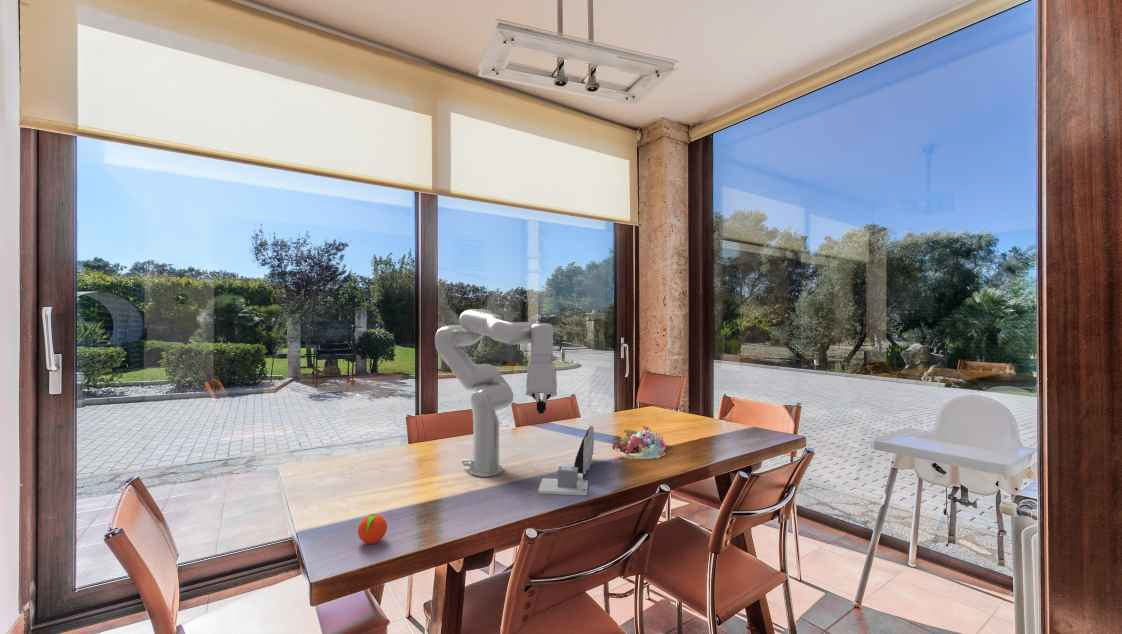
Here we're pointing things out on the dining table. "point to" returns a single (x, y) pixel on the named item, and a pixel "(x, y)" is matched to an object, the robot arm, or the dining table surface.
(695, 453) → the dining table surface
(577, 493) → the plate
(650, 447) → the candy landscape model
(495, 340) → the robot arm
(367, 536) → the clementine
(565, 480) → the module
